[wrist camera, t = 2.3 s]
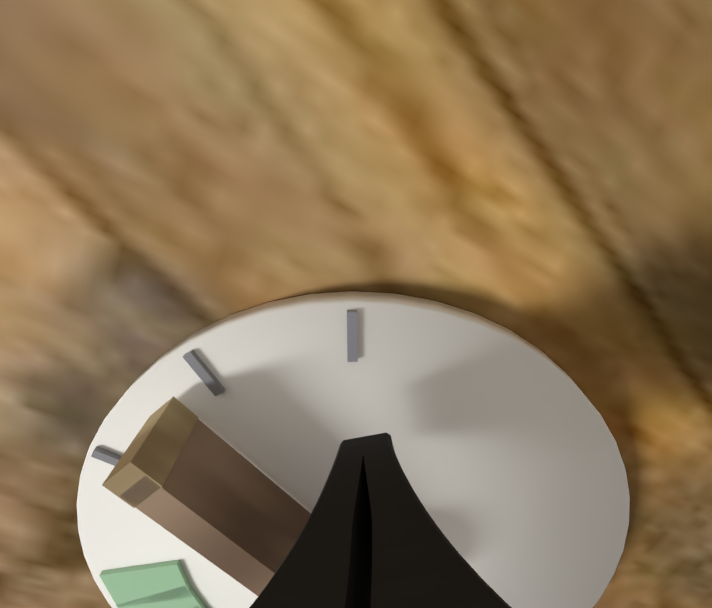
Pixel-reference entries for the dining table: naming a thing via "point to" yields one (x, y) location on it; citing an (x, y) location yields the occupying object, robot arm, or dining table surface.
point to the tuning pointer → (208, 496)
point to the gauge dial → (369, 417)
